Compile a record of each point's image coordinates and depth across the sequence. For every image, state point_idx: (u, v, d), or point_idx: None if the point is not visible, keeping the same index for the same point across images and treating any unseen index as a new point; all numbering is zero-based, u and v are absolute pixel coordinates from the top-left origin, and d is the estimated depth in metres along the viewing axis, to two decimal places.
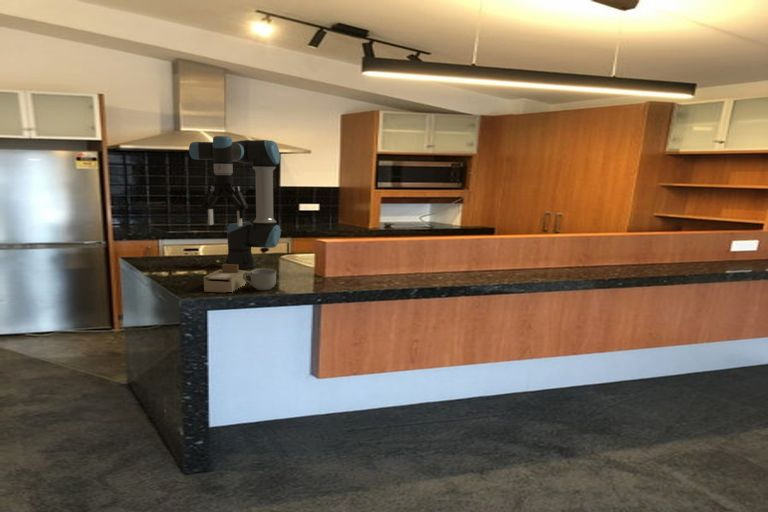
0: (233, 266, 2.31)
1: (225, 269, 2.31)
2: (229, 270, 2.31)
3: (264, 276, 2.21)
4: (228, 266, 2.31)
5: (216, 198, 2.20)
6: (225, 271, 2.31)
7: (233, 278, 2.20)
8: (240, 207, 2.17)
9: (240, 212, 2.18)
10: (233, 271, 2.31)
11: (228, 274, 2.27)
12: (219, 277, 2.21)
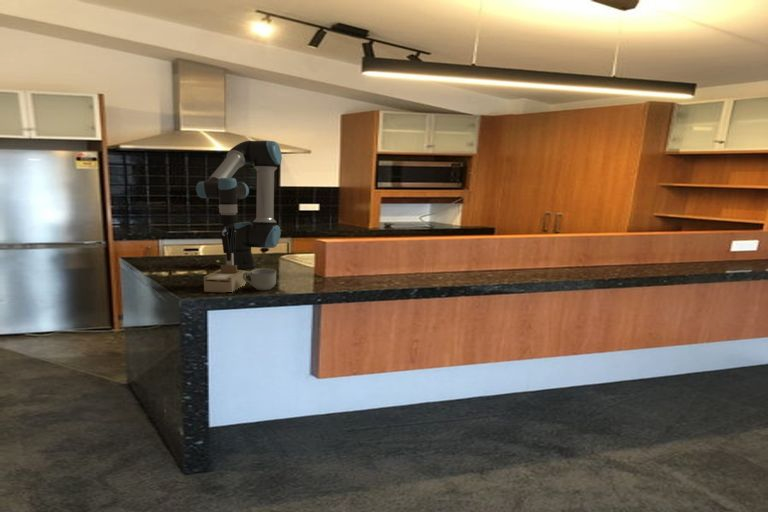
0: (232, 267, 2.29)
1: (224, 270, 2.30)
2: (228, 271, 2.30)
3: (264, 276, 2.21)
4: (227, 267, 2.29)
5: None
6: (224, 272, 2.30)
7: (233, 278, 2.20)
8: None
9: None
10: (232, 272, 2.30)
11: (227, 275, 2.26)
12: (218, 278, 2.20)
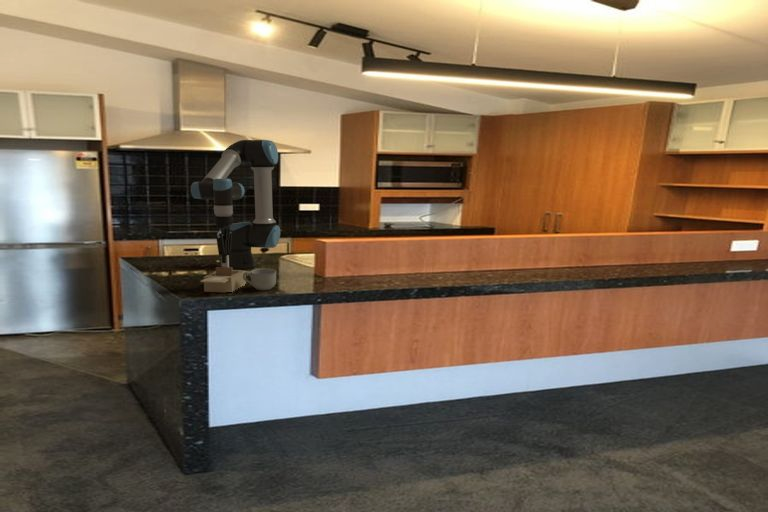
0: (227, 269, 2.24)
1: (219, 272, 2.25)
2: (223, 273, 2.25)
3: (264, 276, 2.21)
4: (222, 269, 2.24)
5: None
6: (219, 274, 2.25)
7: (233, 278, 2.20)
8: None
9: None
10: (227, 274, 2.25)
11: (222, 277, 2.21)
12: (212, 280, 2.15)
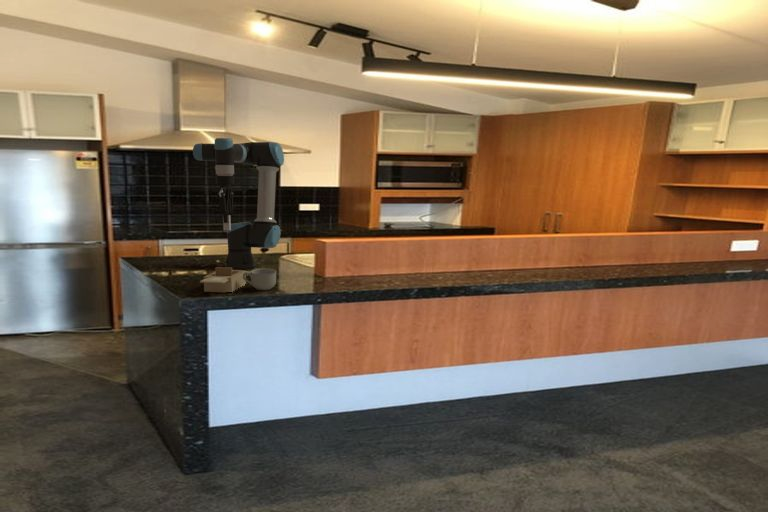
0: (227, 269, 2.24)
1: (218, 272, 2.25)
2: (223, 273, 2.24)
3: (264, 276, 2.21)
4: (222, 269, 2.24)
5: None
6: (218, 274, 2.25)
7: (233, 278, 2.20)
8: None
9: None
10: (227, 274, 2.24)
11: (221, 277, 2.21)
12: (212, 280, 2.14)
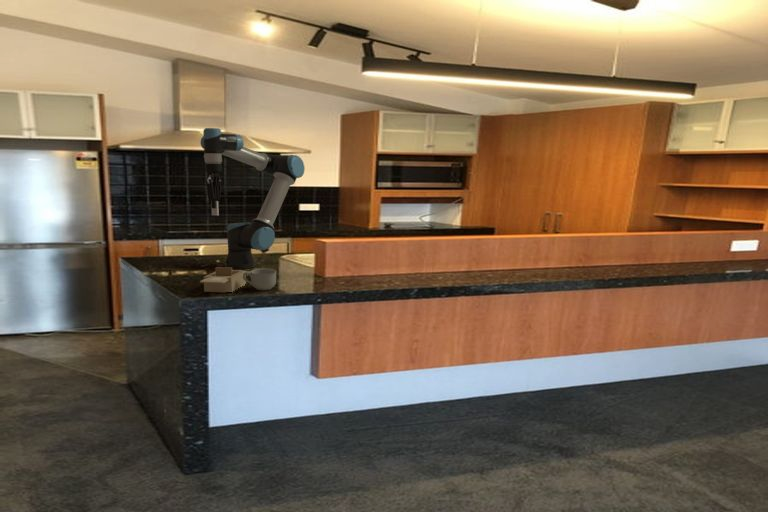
0: (227, 269, 2.24)
1: (218, 272, 2.25)
2: (223, 273, 2.24)
3: (264, 276, 2.21)
4: (222, 269, 2.24)
5: None
6: (218, 274, 2.25)
7: (233, 278, 2.20)
8: None
9: None
10: (227, 274, 2.24)
11: (221, 277, 2.21)
12: (212, 280, 2.14)
